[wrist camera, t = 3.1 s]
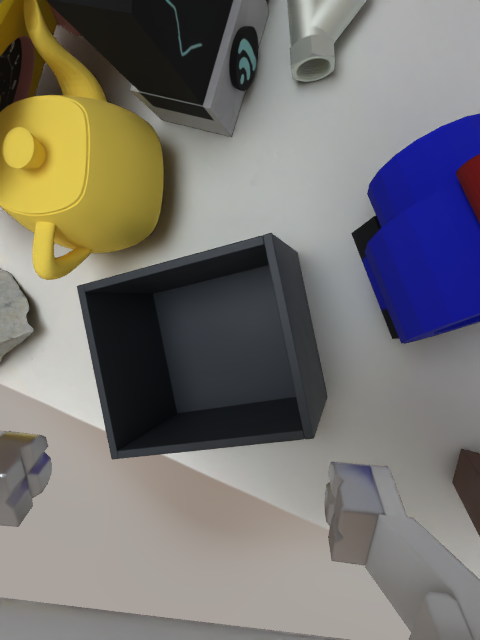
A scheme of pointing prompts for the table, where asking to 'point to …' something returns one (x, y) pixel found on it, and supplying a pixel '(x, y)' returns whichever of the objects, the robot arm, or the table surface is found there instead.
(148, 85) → the decorative object
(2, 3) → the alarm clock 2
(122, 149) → the teapot
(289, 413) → the trash bin
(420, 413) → the table surface
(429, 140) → the alarm clock
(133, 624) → the robot arm
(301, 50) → the pipe fitting
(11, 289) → the rock
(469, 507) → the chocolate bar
